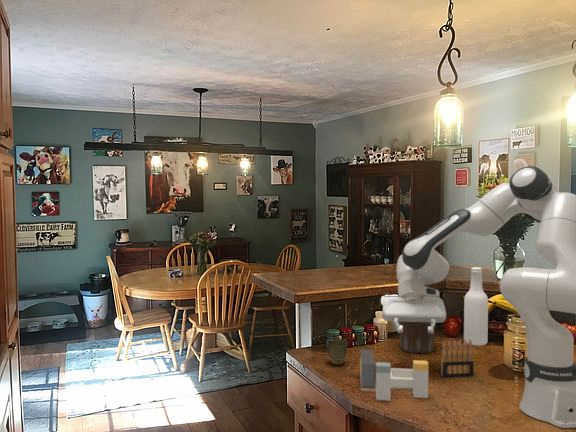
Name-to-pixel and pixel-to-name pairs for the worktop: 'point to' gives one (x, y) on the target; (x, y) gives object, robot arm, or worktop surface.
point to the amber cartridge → (420, 379)
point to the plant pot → (416, 337)
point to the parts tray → (401, 378)
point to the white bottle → (476, 311)
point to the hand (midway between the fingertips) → (415, 332)
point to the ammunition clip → (457, 360)
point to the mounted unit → (367, 371)
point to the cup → (337, 350)
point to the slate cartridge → (383, 381)
